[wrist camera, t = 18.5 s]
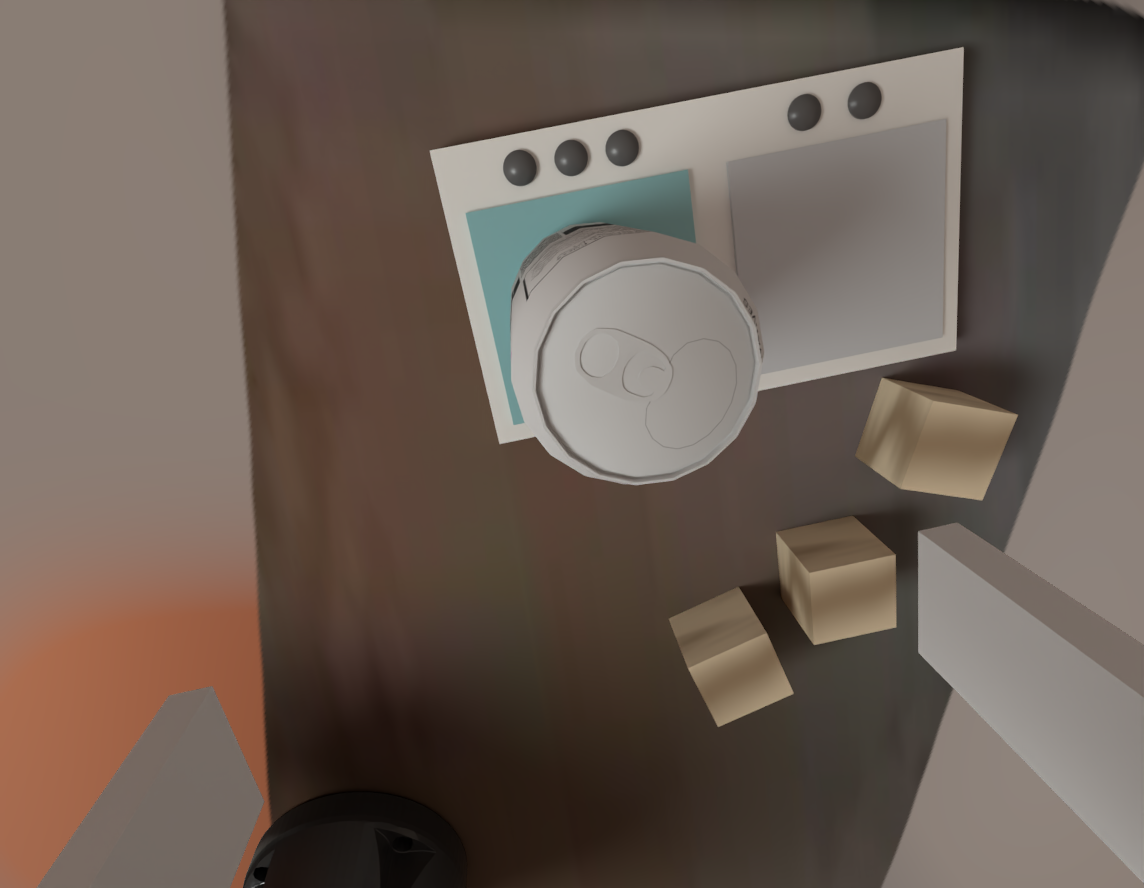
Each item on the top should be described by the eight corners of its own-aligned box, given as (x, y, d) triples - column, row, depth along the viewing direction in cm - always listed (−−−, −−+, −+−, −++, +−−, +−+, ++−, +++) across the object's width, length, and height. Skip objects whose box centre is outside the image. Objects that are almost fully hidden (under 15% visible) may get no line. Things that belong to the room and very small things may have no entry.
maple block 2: (854, 581, 43) (896, 627, 39) (780, 597, 43) (814, 645, 39) (851, 515, 42) (895, 554, 37) (775, 531, 42) (809, 572, 37)
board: (939, 344, 38) (959, 351, 36) (499, 435, 38) (499, 445, 36) (944, 53, 33) (967, 45, 31) (432, 153, 32) (428, 150, 31)
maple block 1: (763, 642, 44) (793, 693, 40) (696, 672, 45) (718, 727, 40) (738, 586, 43) (766, 632, 38) (668, 617, 43) (687, 668, 38)
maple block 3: (927, 466, 41) (982, 500, 36) (854, 455, 40) (900, 488, 36) (957, 390, 39) (1018, 414, 35) (881, 377, 39) (933, 400, 34)
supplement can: (695, 264, 34) (831, 306, 19) (625, 406, 36) (700, 536, 22) (550, 192, 32) (584, 182, 18) (485, 347, 34) (469, 447, 20)
